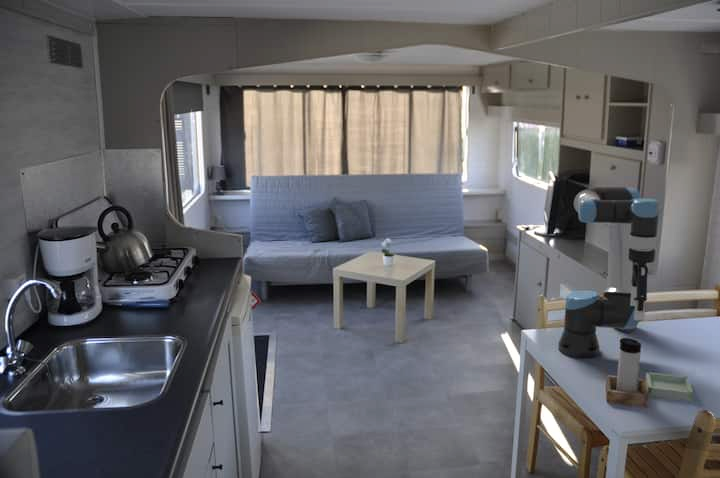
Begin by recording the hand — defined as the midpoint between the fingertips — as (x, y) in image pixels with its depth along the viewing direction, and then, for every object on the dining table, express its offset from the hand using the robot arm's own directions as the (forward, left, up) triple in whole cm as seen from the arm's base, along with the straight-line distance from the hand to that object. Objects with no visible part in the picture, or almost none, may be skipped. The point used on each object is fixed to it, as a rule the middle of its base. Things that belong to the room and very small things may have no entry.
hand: (636, 312), depth 194 cm
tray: (+12, +7, -29) cm, 32 cm away
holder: (-1, -2, -29) cm, 29 cm away
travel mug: (-1, -2, -29) cm, 29 cm away
